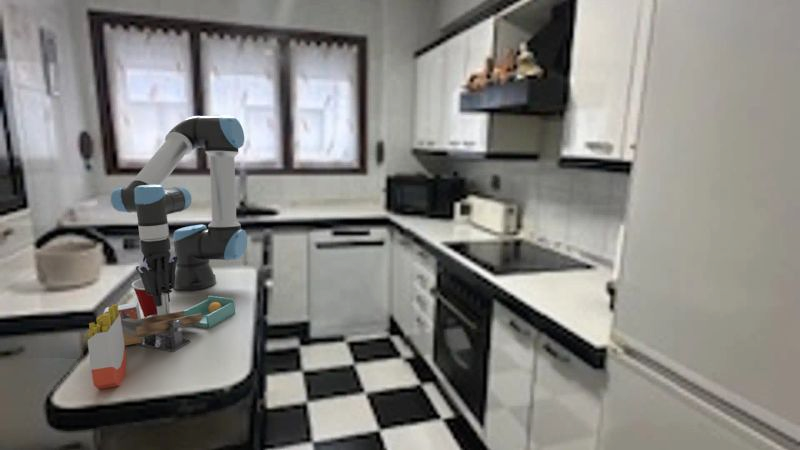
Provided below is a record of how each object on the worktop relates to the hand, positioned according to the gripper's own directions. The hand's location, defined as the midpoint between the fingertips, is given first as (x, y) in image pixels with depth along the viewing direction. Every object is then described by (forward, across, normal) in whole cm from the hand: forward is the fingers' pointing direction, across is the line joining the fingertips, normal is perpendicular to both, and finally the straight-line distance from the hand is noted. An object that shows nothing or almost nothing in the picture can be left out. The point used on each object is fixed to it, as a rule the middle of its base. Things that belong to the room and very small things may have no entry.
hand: (163, 314), depth 131 cm
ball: (+2, -13, +8) cm, 15 cm away
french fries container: (+5, +27, +12) cm, 30 cm away
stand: (+5, +8, +8) cm, 12 cm away
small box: (+4, +11, -2) cm, 12 cm away
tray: (+4, -10, +8) cm, 13 cm away
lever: (0, +8, +4) cm, 9 cm away
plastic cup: (+5, -6, -10) cm, 13 cm away
